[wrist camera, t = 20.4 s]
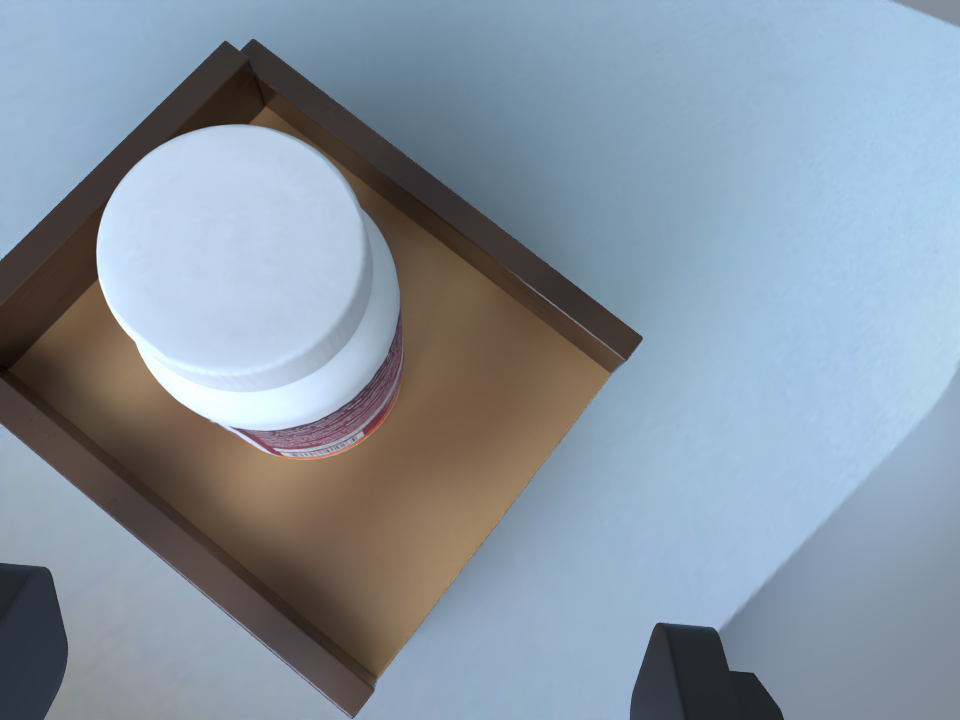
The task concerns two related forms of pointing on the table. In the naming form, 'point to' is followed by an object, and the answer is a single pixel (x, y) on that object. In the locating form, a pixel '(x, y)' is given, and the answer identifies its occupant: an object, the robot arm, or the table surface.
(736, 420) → the table surface
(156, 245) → the pill bottle
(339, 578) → the wooden tray box
